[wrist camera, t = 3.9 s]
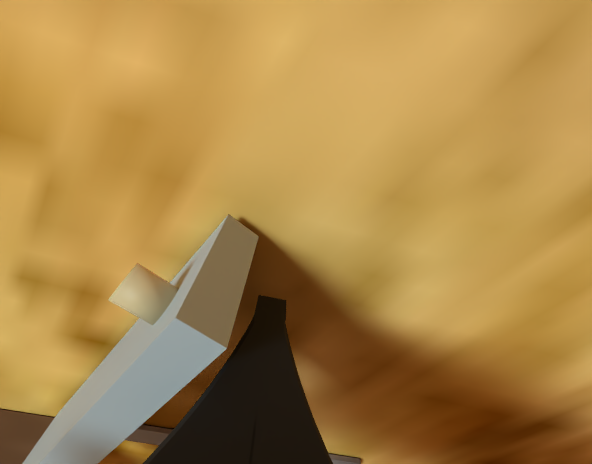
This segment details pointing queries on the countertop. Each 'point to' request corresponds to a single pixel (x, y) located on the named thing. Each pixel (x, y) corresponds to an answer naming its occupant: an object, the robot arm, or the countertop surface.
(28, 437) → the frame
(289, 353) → the robot arm
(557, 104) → the countertop surface
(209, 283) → the pale grey bar
